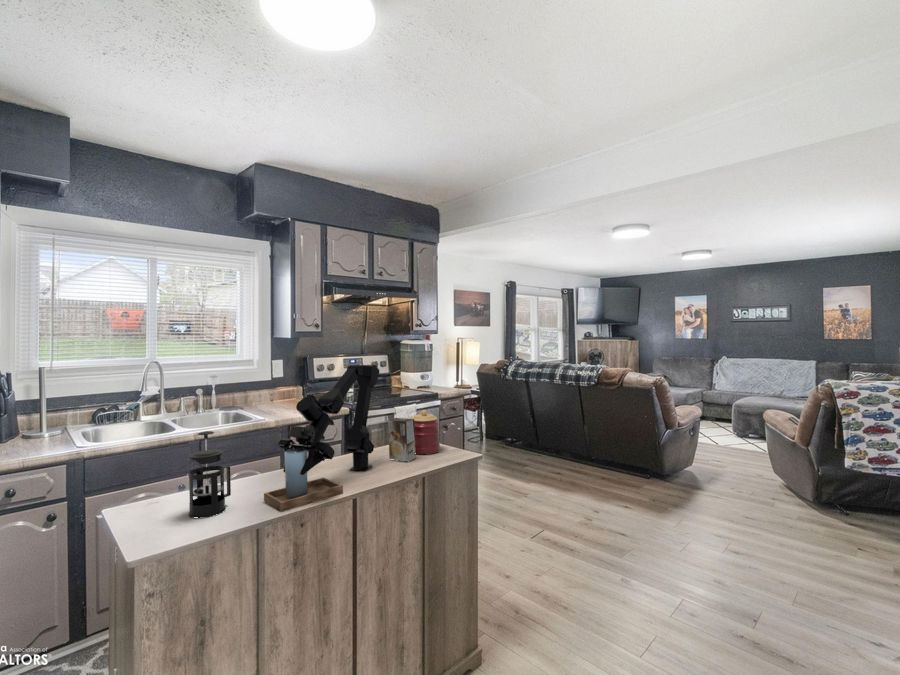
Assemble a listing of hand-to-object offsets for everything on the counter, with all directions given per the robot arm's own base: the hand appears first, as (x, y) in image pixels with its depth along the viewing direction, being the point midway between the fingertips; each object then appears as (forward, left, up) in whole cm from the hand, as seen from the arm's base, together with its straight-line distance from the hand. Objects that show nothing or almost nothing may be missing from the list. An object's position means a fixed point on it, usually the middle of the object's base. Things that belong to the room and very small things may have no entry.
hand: (292, 473), depth 136 cm
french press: (+11, -20, -9) cm, 24 cm away
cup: (-1, 0, -7) cm, 7 cm away
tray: (-3, +2, -8) cm, 9 cm away
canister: (-61, +26, -9) cm, 67 cm away
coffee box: (-48, +20, -9) cm, 53 cm away
